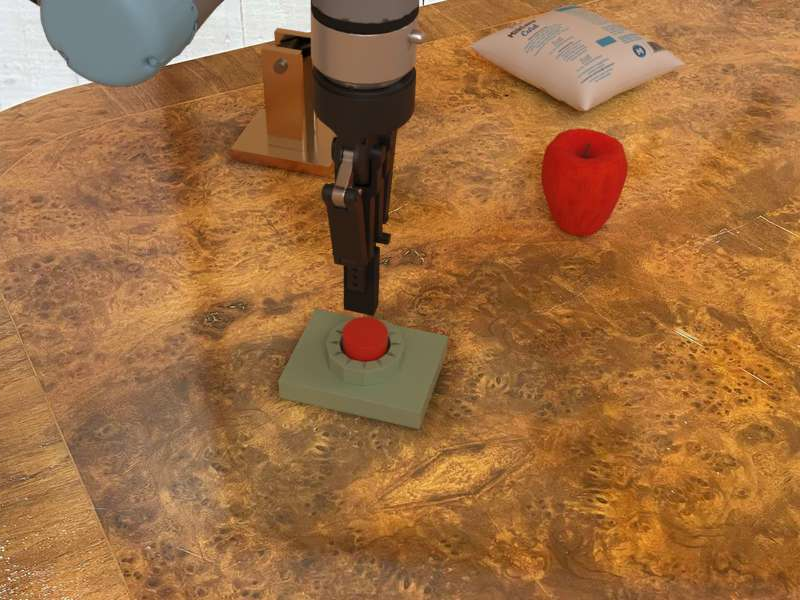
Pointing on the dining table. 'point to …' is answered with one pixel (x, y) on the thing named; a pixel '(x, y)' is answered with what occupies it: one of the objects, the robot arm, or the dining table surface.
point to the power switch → (287, 114)
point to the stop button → (365, 339)
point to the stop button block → (364, 371)
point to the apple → (583, 179)
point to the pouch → (576, 56)
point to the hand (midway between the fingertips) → (361, 307)
